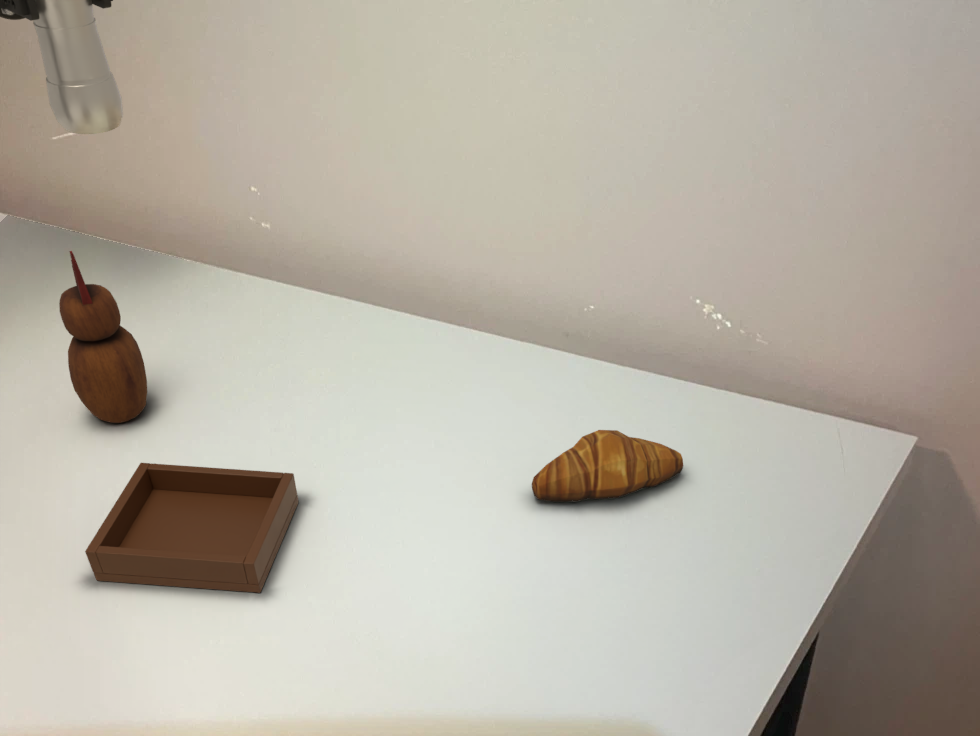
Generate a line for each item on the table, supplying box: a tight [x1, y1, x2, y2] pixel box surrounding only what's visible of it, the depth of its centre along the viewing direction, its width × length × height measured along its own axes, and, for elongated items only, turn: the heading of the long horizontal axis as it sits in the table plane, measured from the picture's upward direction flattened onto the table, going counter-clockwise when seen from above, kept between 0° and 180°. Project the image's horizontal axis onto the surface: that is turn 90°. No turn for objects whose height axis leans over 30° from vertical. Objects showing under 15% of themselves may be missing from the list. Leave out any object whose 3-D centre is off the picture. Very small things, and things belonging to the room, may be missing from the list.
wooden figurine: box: [58, 250, 148, 424], centre depth 87 cm, size 7×6×15 cm
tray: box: [84, 462, 300, 594], centre depth 79 cm, size 13×12×3 cm
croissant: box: [531, 429, 684, 503], centre depth 84 cm, size 14×7×5 cm, turn 109°
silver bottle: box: [32, 0, 124, 135], centre depth 91 cm, size 6×7×20 cm
